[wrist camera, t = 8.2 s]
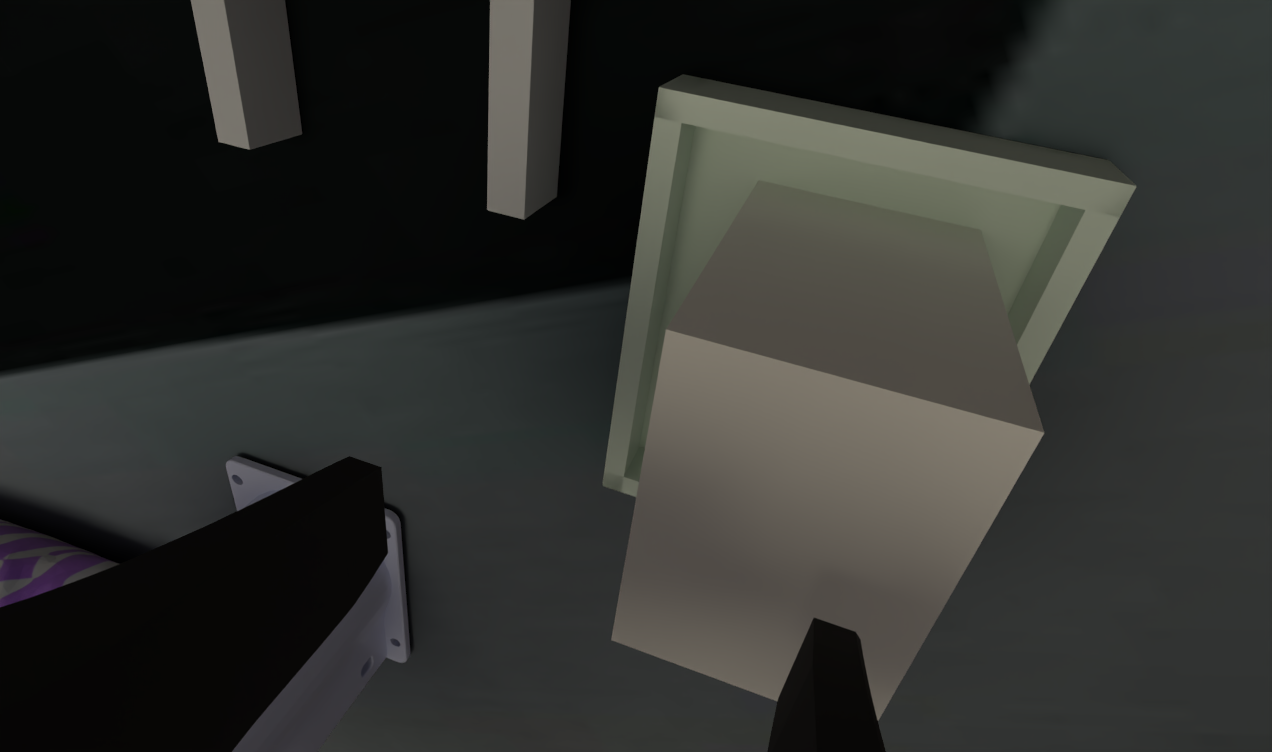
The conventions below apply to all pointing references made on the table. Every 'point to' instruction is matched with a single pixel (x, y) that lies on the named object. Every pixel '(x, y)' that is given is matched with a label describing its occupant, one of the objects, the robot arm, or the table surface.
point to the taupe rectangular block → (822, 441)
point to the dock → (518, 88)
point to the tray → (856, 171)
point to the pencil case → (40, 563)
